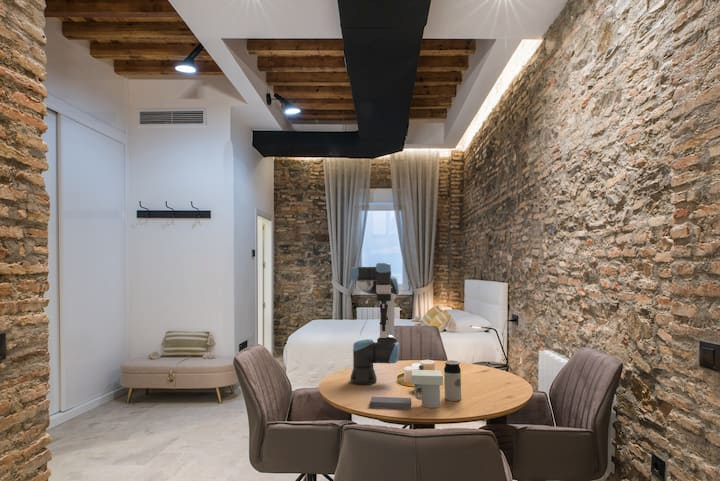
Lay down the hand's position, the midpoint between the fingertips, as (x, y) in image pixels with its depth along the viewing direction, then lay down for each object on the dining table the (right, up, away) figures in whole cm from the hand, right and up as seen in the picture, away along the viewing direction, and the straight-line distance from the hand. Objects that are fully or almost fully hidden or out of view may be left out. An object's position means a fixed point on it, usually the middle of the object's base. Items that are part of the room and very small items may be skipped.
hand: (384, 335), depth 206 cm
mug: (+20, -30, -14) cm, 38 cm away
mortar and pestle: (+21, -32, +10) cm, 39 cm away
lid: (+19, -19, -14) cm, 30 cm away
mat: (+2, -30, -14) cm, 33 cm away
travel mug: (+34, -31, -5) cm, 46 cm away
